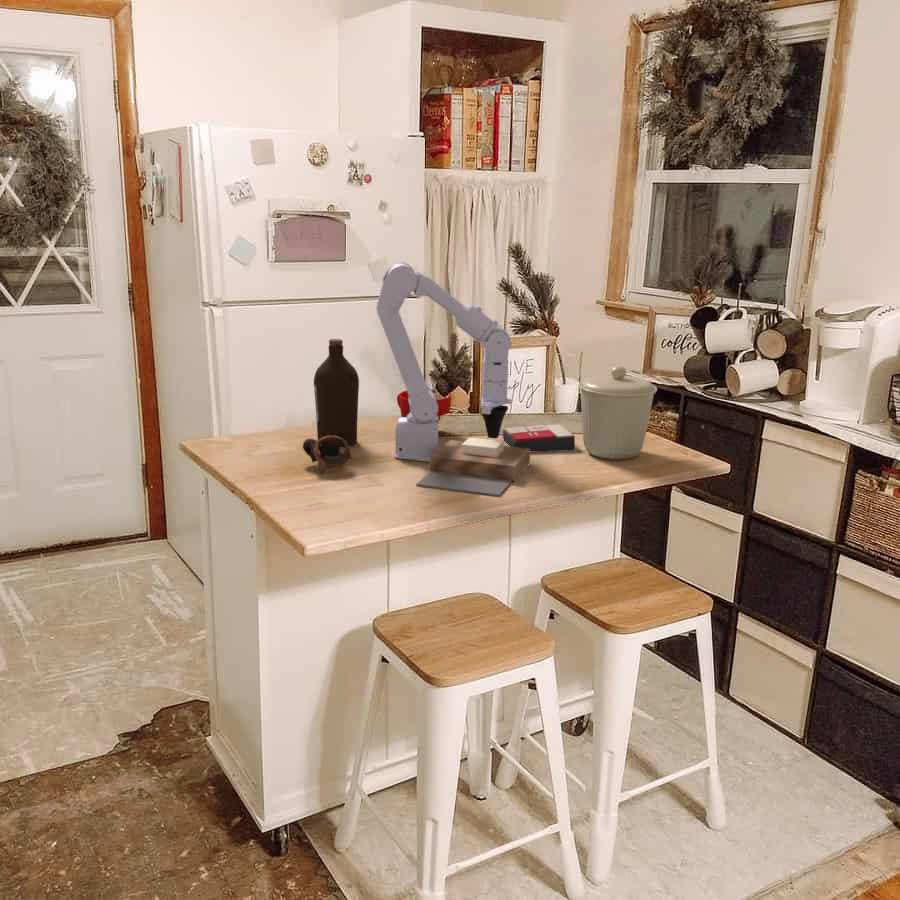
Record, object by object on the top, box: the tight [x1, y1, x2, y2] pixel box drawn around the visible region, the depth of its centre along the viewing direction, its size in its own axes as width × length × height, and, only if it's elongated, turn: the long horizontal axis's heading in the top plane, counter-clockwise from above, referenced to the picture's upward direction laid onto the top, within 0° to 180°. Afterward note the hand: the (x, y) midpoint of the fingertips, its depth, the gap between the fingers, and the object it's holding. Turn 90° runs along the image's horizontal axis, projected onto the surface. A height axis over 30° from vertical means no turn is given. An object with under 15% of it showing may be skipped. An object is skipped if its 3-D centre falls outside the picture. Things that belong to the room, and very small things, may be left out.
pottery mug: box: [302, 436, 353, 474], centre depth 197 cm, size 12×10×8 cm
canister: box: [577, 365, 658, 461], centre depth 209 cm, size 18×18×21 cm
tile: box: [461, 437, 505, 457], centre depth 199 cm, size 8×6×2 cm
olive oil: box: [313, 338, 360, 449], centre depth 213 cm, size 11×11×25 cm
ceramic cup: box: [396, 388, 452, 424], centre depth 226 cm, size 13×17×10 cm
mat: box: [415, 471, 512, 497], centre depth 189 cm, size 18×10×1 cm, turn 72°
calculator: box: [502, 423, 576, 452], centre depth 218 cm, size 11×4×15 cm
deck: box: [429, 439, 531, 482], centre depth 199 cm, size 19×14×4 cm
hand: (493, 437), depth 207 cm, fingers closed
